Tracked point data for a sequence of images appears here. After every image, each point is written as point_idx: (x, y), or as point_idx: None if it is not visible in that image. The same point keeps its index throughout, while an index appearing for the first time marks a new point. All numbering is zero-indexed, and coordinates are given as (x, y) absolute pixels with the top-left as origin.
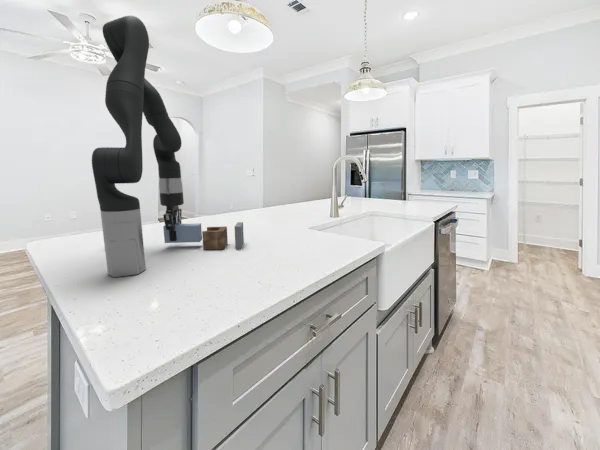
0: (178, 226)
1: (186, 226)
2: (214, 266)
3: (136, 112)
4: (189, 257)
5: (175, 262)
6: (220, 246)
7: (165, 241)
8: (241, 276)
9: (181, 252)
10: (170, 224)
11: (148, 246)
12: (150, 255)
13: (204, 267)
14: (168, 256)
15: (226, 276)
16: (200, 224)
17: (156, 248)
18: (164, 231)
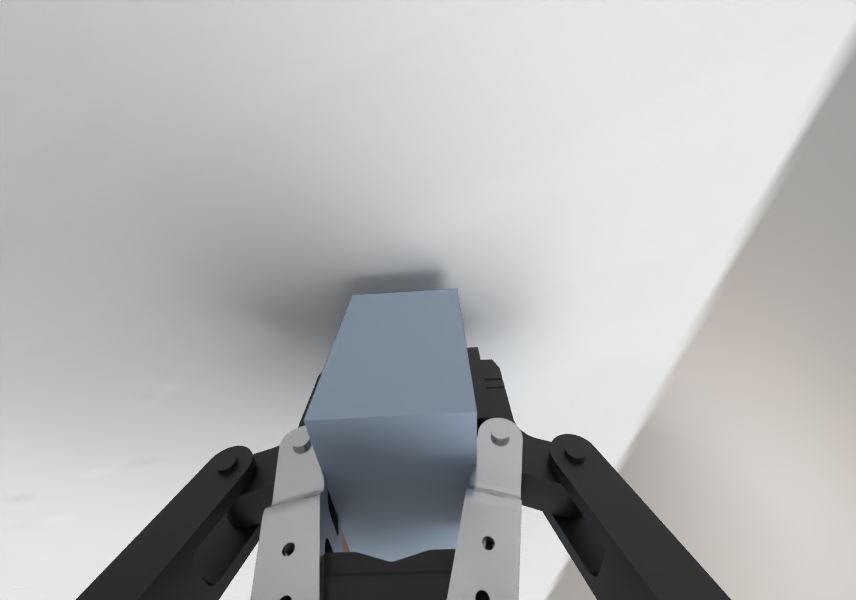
0: (345, 529)
1: None
2: (100, 540)
3: None
4: (191, 449)
5: (81, 419)
6: None
7: (352, 308)
8: (41, 597)
9: (282, 392)
10: (441, 457)
11: (474, 60)
12: (161, 230)
13: (71, 520)
14: (176, 354)
15: (18, 575)
16: None
17: (384, 188)
18: (327, 373)
